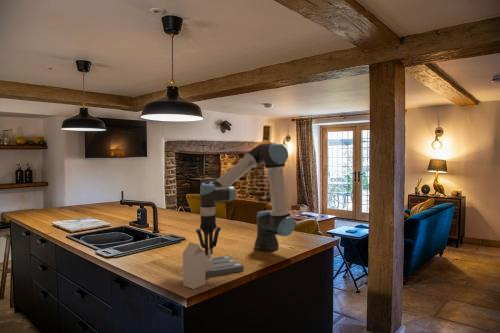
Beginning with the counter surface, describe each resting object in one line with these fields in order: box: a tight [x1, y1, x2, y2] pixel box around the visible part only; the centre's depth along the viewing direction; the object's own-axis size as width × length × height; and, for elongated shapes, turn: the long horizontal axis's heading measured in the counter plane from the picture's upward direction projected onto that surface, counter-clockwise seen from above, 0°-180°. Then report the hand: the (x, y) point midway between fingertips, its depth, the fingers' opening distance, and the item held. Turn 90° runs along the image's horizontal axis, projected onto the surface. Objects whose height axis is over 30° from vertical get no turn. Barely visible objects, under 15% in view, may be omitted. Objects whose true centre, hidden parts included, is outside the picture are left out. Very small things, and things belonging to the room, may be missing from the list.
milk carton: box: [182, 241, 206, 290], centre depth 158 cm, size 7×7×19 cm
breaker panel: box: [205, 254, 245, 278], centre depth 181 cm, size 24×20×8 cm
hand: (208, 260), depth 179 cm, fingers closed
